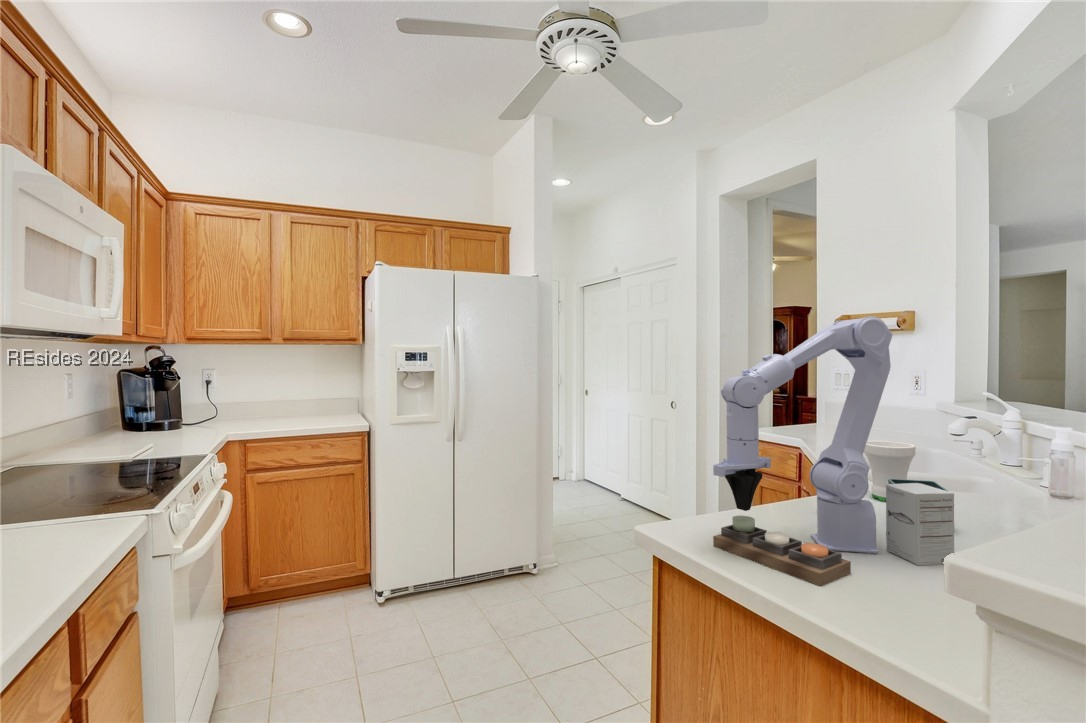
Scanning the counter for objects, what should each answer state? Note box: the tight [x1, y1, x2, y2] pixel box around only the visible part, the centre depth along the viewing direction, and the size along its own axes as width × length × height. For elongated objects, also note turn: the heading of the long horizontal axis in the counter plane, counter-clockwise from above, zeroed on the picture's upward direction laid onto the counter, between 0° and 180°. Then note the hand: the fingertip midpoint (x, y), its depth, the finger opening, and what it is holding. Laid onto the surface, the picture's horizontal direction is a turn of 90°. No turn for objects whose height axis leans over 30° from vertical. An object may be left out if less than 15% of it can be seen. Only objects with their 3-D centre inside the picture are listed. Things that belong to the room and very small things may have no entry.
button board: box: [712, 524, 852, 587], centre depth 92 cm, size 21×9×4 cm, turn 31°
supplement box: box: [885, 483, 955, 566], centre depth 92 cm, size 7×7×13 cm
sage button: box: [732, 515, 756, 532], centre depth 98 cm, size 4×4×2 cm
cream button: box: [765, 531, 790, 546], centre depth 92 cm, size 4×4×2 cm
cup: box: [863, 440, 917, 502], centre depth 131 cm, size 11×11×14 cm
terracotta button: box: [801, 542, 828, 559], centre depth 86 cm, size 4×4×2 cm
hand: (743, 509), depth 98 cm, fingers closed
